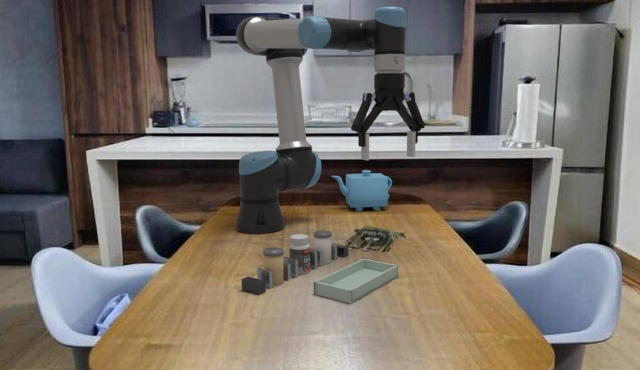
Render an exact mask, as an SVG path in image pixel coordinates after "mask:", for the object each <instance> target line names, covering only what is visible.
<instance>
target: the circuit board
mask: <svg viewBox="0 0 640 370" xmlns="http://www.w3.org/2000/svg"><path fill="white" fill-rule="evenodd" d="M353 231H354V232H355V233H354V235H352V236H351V237H350V238H349V239H346V241H344V244H345V246H348V251H349V250H360V251H366V252H369V251H374V252H379V251H380V250H381V249H382V248H383V249H382V251H381V252H382V253H384V252H390V251H391V250H392V248H393V246H394V242H395V241H397V240H406V238H407V236H406V233H405V232H400V231H395V230H390V229H387V228H381V227H375V226H363V227H362V228H360V229H359V228H355V229H354V230H353ZM340 245H342V244H340Z"/></svg>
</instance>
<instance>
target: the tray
mask: <svg viewBox="0 0 640 370" xmlns="http://www.w3.org/2000/svg"><path fill="white" fill-rule="evenodd" d="M398 277H399V265H398V264H393V263H387V262H382V261H377V260H373V259H368V258H361V259H359V260H357V261H355V262H353V263H351V264H348V265H346V266H344V267H342V268H340V269H337V270H336V271H334V272H332V273H330V274H328V275H325V276H323V277H321V278H318V279H317V280H314V281H313V294H314V295H317V296H321V297H325V298H328V299H331V300H335V301H340V302H343V303H347V304H353V303H354V302H356V301H358V300H360V299H361V298H364V297H365V296H367V295H368V294H371V293H372V292H374V291H376V290H377V289H380V288H381V287H382V286H384V285H386V284H388V283H389V282H392V281H393V280H394V279H397V278H398Z"/></svg>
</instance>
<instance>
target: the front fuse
mask: <svg viewBox="0 0 640 370" xmlns="http://www.w3.org/2000/svg"><path fill="white" fill-rule="evenodd" d="M262 254H263V265H264V266H263V267H264V268H263V269H266V270H270V271H272V284H273V287H274V286H280V285H283V284H284V282H285V279H284V266H283V257H284V254H285V250H284V248H282V247H279V246H278V247H276V246H275V247H266V248H264V249H263V250H262Z"/></svg>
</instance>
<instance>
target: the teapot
mask: <svg viewBox="0 0 640 370" xmlns="http://www.w3.org/2000/svg"><path fill="white" fill-rule="evenodd" d="M371 172H372V171H371V170H368V169H364V170H361V173H346V174H345V184H344V182H343V180H342V177H341V176H339V175H330V177H331V178H334V179H335V180H336V181H337V183H338V186H339V189H340V192H341V194H342V195H343V196H344V197H345V201H346V203H347V205H348V206H349V207H350V209H351V208H353V209H354V208H355V209H354V212H356V211H357V213H360V211H361V212H363V210H364V208H372V209H373V211H374V212H380V211H382V209H381V207H383V208H384V207H388V206H389V205H388V202H389V199H390V194H389V190H390V189H391V187H392V184H393V180H392V179H391V178H390V176H387V175H384V174H383V173H379V172H378V173H375V172H374V173H371Z"/></svg>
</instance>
